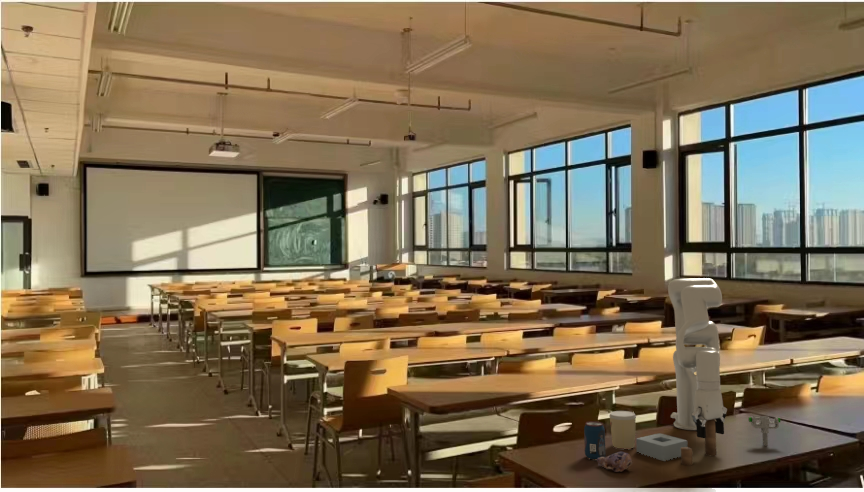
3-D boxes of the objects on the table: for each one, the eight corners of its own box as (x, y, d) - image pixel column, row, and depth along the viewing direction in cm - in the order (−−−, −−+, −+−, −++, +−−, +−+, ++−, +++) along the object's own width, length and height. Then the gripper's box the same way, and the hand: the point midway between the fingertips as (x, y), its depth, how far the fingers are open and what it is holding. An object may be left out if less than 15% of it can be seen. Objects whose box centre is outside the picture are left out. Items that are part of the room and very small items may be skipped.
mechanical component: (782, 446, 234) (780, 418, 234) (751, 445, 236) (750, 417, 236) (779, 444, 236) (778, 416, 237) (749, 443, 239) (747, 415, 239)
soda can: (587, 454, 231) (586, 420, 231) (607, 456, 228) (606, 421, 228) (583, 459, 225) (581, 424, 225) (603, 462, 222) (602, 426, 222)
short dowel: (679, 463, 218) (678, 448, 218) (686, 461, 220) (685, 446, 220) (688, 466, 215) (687, 450, 215) (695, 464, 217) (694, 448, 217)
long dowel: (703, 454, 228) (702, 419, 228) (709, 452, 229) (708, 417, 230) (712, 456, 224) (710, 421, 225) (718, 454, 226) (717, 419, 227)
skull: (592, 467, 217) (592, 448, 217) (607, 462, 222) (607, 444, 222) (622, 476, 208) (621, 456, 208) (637, 471, 212) (636, 452, 212)
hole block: (636, 452, 231) (636, 438, 231) (660, 446, 237) (659, 433, 237) (664, 461, 221) (663, 446, 221) (687, 455, 227) (687, 440, 227)
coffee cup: (618, 441, 246) (617, 409, 246) (641, 446, 239) (640, 413, 239) (605, 447, 239) (604, 414, 239) (628, 451, 232) (627, 418, 233)
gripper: (715, 381, 235) (717, 429, 234) (682, 386, 226) (684, 437, 225) (733, 384, 228) (736, 434, 228) (701, 390, 220) (703, 441, 219)
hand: (710, 435), depth 226 cm, fingers open, 9 cm apart
